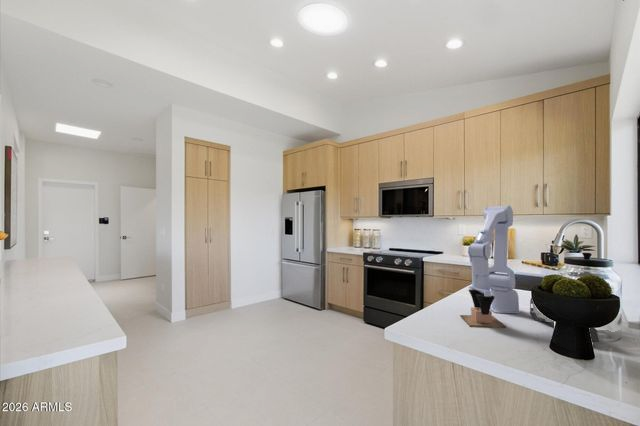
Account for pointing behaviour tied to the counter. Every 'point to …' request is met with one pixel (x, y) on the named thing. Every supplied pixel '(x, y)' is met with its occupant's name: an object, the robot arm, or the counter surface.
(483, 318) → the ring
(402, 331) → the counter surface
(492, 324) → the peg stand
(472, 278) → the robot arm
